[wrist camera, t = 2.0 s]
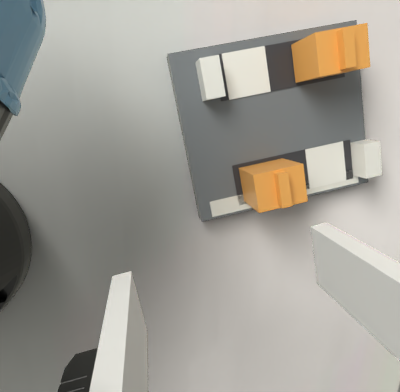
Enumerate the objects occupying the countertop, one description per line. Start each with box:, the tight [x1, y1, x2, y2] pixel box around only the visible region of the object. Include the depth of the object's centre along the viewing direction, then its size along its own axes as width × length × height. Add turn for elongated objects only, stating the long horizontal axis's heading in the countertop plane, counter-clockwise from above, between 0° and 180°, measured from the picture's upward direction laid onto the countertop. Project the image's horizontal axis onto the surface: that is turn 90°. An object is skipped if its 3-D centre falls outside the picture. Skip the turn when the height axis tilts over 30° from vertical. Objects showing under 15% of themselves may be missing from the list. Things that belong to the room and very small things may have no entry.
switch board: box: [167, 20, 382, 221], centre depth 29 cm, size 16×14×4 cm
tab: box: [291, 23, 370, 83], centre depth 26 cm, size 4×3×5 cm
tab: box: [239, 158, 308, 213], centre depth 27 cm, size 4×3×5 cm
